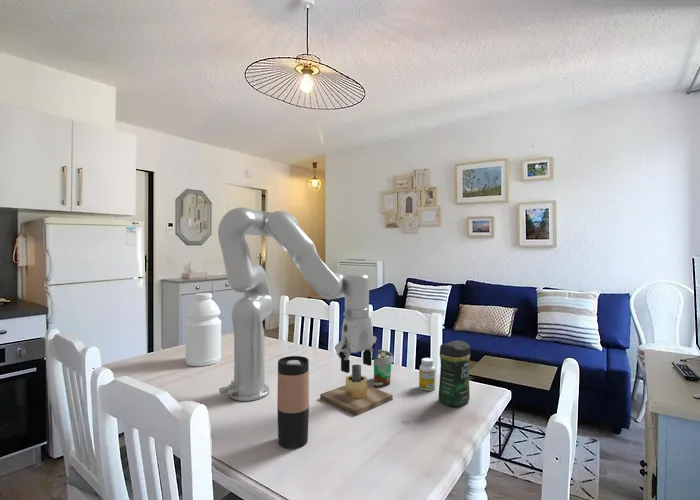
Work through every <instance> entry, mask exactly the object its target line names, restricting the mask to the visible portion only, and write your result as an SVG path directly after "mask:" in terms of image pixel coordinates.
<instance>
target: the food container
mask: <svg viewBox="0 0 700 500" xmlns="http://www.w3.org/2000/svg"><path fill="white" fill-rule="evenodd" d="M393 363H394V356H393V353H392V352H390V351H387V350H384V349H377V354H376V356H375V358H373V388H384V387H387V386H390V384H391V376H392V375H391V374H392V373H391V372H392V364H393Z"/></svg>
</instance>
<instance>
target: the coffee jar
mask: <svg viewBox="0 0 700 500" xmlns="http://www.w3.org/2000/svg"><path fill="white" fill-rule="evenodd" d="M470 358H471V346H470V344H469V343H468V342H466V341H463V340H458V339H455V340H453V341H450V342H447V343H442V344H440V347H439V361H440V368H439V369H440V373H439V384H438V385H439V386H438V400H439V401H440V402H441V403H442V404H443V405H446V406H448V407H449V406H452V407H460V406H463V405H465V404H467V403H468V402H469V401H470V400H471V399H470V367H469V366H470Z"/></svg>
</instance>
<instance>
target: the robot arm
mask: <svg viewBox="0 0 700 500" xmlns="http://www.w3.org/2000/svg"><path fill="white" fill-rule="evenodd" d="M217 229H218V230H217V236H218V237H217V238H218V242H219V246H220V249H221V254H222V259H223V264H224V268H225V273H226V277H227V281H228V285H229V287H230V288H231V290H232V291H234V292H236V293H243V296H244V297H241V298H239V299H238V300H236V302H235V303H234V304H233V307H232V310H231V321H232V328H233V357H234V358H233V368H234V369H233V380H231V381H230V384H228V385H227V386H221V387H219V388H218V392H219V394H220V395H224V394H227V395H228V396H229V398H230V399H232V400H234V401H241V402H247V401H256V400H261V399H263V398H265V397H266V396H267V395H269V394H270V387H269V386H268V385H267V384H265V355H266V354H265V352H266V351H265V330H264V325H263V321H264V320H265V319H267V318H268V317H269V316H270V315H271V314H272V312H273V308H274V304H273V303H274V302H273V296H272V293H271V289H270V284H269V280H268V276H267V272H266V271H265V269H264V267H263V266H262V265H260V264H259V263H257V262H253V259H252V257H251V256H252V255H251V251H250V247H249V245H248V243H247V241H246V235H247V236H249V235H250V236H262V237H271V238H273V239H274V240H275V241H276V243H277V244H278V245H279V247H280V248H282V249H283V250H284V251H285V253H286V254H287V255H288V256H289V258H290V259H291V260H292V261H293V263H294V265H295V267H296V268H297V269H298V271H299V272H300V275H302V276H303V278H304V280H305V281H306V282H307V283H308V285H310V287H311V288H312V289H313V290H314V291H315V292H316V294H318V295H319V296H320V297H321V298H323V299H325V300H334V299H337V298H338V297H340V296H344V311H343V314H342V315H343V316H344V318H343V322H342V328H341V338H340V339H341V340H340V341H339V342H338V343H336V345H335V346H334V349H335V351H336V355H337V356H338V357H339V358H340V370H341V372H344V373H346V374H349V373H350V372H351V371H350V368H351V367H350V360H351V359H349V358H350V356H351V354H357V353H360V352H362V364H363V365H366V366H369V367H370V366H372V357H373V356H372V353H374V348H375V346H376V341H377V339H378V338H377V336H374V335H373V333H374V332H373V324H372V319H371V317H370V307H369V306H370V278H369V275H367V274H366V273H349V274H347V273H341V272H332V271H331V270H330V269H329V267H328V266H327V265H326V264H325V263H324V262H323V260H322V259H321V257H320V255H319V254H318V251H317V248H316V245H315V243H314V241H313V240H312V239H311V238H310V237H309V236H308V234H306V232H305V231H304V230H303V229H302V228H301V227H300V226H299V222H298V219H297V218H296V216H294V215H293V214H291V213H289V212H287V211H283V210H276V211H272V212H271V211H264V210H255V209H252V208H247V207H240V206H239V207H235V208H232V209H231V210H228V211H227V212H226V213H225V214H224V215H223V216H222V218H221V220H220V221H219V223H218V228H217Z"/></svg>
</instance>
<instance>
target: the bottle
mask: <svg viewBox="0 0 700 500" xmlns="http://www.w3.org/2000/svg"><path fill="white" fill-rule="evenodd" d="M212 298H213V293H211V292H198V293H195V294H194V299H195V300H194V301H193V302H192V303H191V304H190V305H189V307H188V308H187V311H186V313H185V316H186V317H187V318H188V320H187V321H186V322H185V324H184V325H185V364H186V365H187V366H191V367H206V366H211V365H214V364H217V363H219V362H220V361H221V360H222V356H223V355H222V320H221V319H220V318H219V316H220V315H221V310H220V307H219V306H218V304H217V303H216V301H214V299H212Z"/></svg>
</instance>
